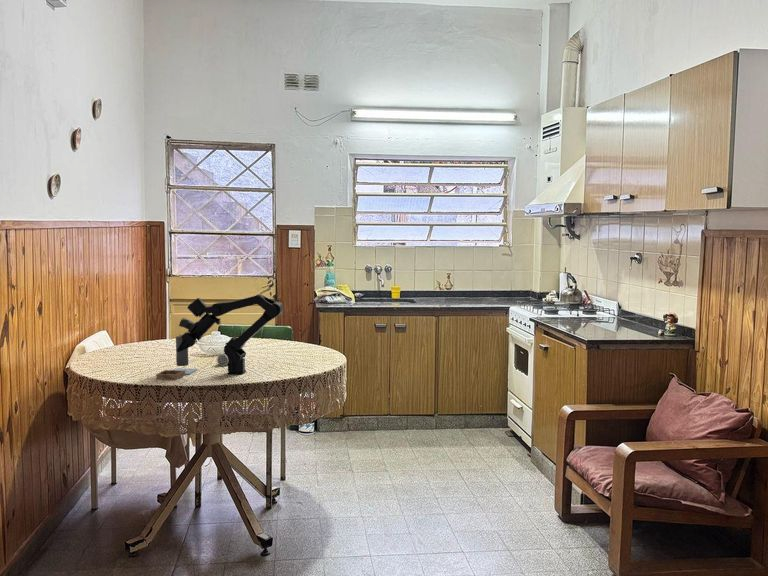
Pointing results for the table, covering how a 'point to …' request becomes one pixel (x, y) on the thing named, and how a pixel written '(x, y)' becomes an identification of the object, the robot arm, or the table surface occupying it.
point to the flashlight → (222, 359)
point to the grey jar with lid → (181, 353)
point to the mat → (187, 370)
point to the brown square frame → (170, 374)
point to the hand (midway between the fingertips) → (178, 350)
